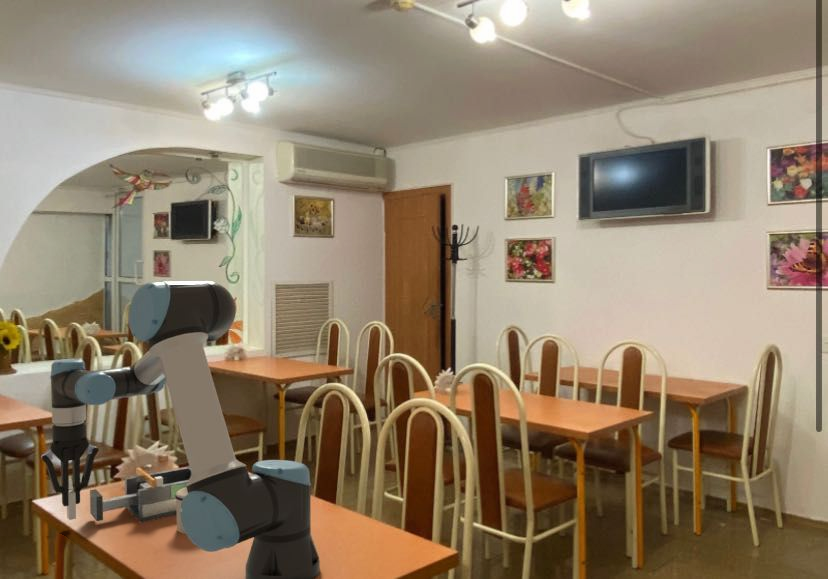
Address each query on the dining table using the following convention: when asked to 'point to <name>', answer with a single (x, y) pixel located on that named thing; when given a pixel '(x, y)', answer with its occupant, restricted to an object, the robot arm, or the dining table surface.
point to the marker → (158, 481)
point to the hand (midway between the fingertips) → (71, 517)
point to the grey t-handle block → (117, 498)
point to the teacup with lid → (179, 498)
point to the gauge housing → (157, 494)
